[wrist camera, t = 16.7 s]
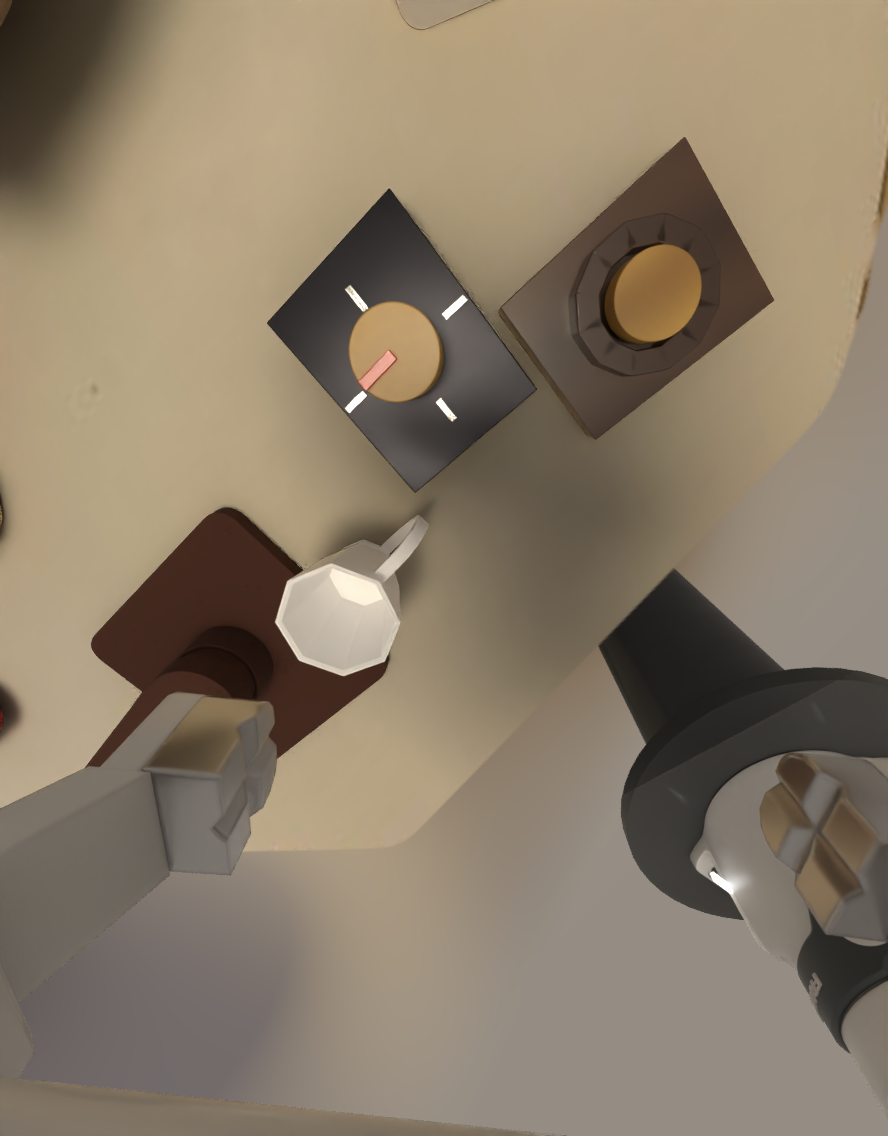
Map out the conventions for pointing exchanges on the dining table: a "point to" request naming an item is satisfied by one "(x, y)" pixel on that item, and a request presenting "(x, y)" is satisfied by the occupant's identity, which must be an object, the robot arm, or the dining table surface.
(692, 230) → the switch block
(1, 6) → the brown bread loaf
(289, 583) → the cup
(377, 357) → the dimmer knob
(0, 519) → the cake
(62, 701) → the dining table surface
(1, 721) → the tomato
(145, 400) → the dining table surface
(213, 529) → the door handle
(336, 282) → the dimmer
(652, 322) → the switch button
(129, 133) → the dining table surface
